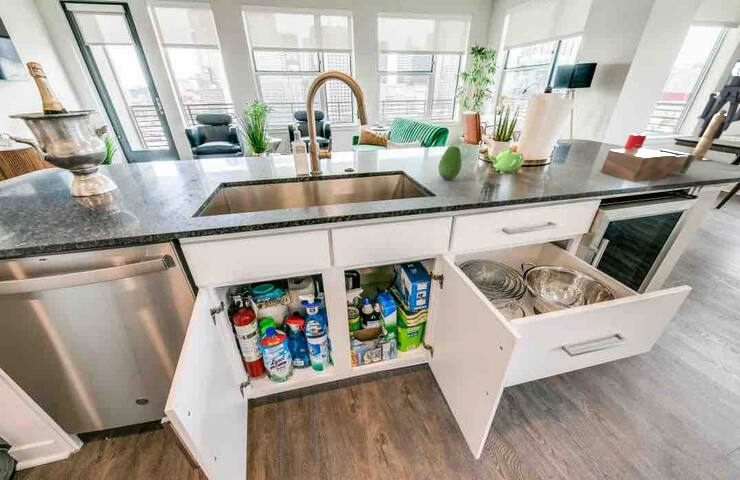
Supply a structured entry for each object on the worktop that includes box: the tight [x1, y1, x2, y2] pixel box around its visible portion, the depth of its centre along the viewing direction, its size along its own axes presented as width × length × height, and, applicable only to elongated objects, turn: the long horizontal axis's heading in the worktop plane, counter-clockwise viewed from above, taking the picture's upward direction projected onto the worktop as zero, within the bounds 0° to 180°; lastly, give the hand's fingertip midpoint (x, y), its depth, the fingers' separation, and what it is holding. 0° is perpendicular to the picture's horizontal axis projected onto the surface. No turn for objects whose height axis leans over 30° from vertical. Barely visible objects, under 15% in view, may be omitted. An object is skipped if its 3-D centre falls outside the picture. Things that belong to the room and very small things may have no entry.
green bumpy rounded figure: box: [488, 149, 524, 175], centre depth 107 cm, size 11×12×8 cm
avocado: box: [438, 145, 463, 181], centre depth 98 cm, size 8×8×12 cm
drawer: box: [653, 148, 696, 175], centre depth 104 cm, size 18×11×7 cm, turn 103°
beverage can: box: [623, 132, 647, 149], centre depth 115 cm, size 5×5×12 cm
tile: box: [694, 157, 713, 162], centre depth 123 cm, size 7×7×1 cm
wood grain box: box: [600, 147, 677, 182], centre depth 101 cm, size 14×12×8 cm
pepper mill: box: [691, 109, 728, 159], centre depth 118 cm, size 4×4×20 cm
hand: (708, 137), depth 119 cm, fingers closed on pepper mill, 4 cm apart
